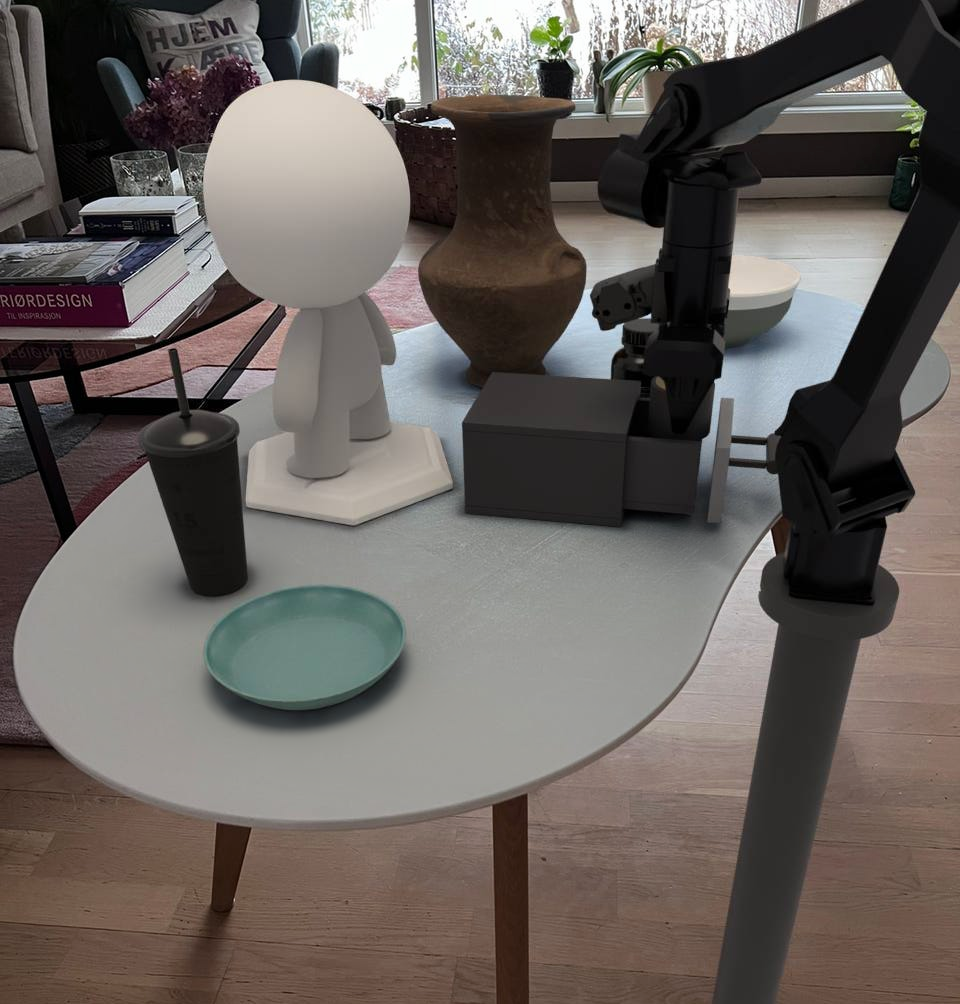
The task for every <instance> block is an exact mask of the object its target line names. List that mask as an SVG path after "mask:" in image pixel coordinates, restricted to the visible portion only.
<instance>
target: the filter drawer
mask: <svg viewBox="0 0 960 1004" xmlns="http://www.w3.org/2000/svg"><path fill="white" fill-rule="evenodd" d="M734 403H735V398H732V397H720V404H719V413H718V421H717V428H716V436H715V446H714V454H713V462H712V470H711V471H712V472H711V482H710V492H709V501H708V510H707V511H708V512H707V523H710V524H722V520H723V519H722V518H723V511H724V503H725V494H726V488H727V481H728V480H727V479H728V473H729V467H733V468H734V467H735V468H747V469H748V468H749V469H760V470H761V469H762V470H765V469H766V472H767V473H768V474H770V475H773V476H774V475H775V476H776V475H778V471H777V463H776V461H775V450H776V446H777V443H778V441H779V439H780V437H781V436H776V435H775V434H774V432H773V433H770V434H769V435H767V436H765V437H763V436H749V435H735V434H732V433H733V419H734V405H735V404H734ZM649 404H650V398H644V397H638V400H637V404H636V408H635V411H634V415H633V419H632V423H631V426H630V430H629V434H628V437H627V449H626V465H625V480H624V496H623V509H625V510H634V511H645V512H656V513H657V512H659V513H670V514H681V515H694V512H695V504H696V495H697V488H698V480H699V473H700V472H699V471H700V463H701V455H702V446H703V445H702V444H703V439H701V440H698V441H688V440H674V439H660V438H656V437H654V436H652V435H651V434H650V433H649V431H648V417H649ZM732 444H736V445H750V446H764V447H765V459H754V458H753V459H752V458H742V457H741V458H740V457H739V458H738V457H731V449H732V448H731V447H732Z"/></svg>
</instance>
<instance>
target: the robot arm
mask: <svg viewBox="0 0 960 1004" xmlns="http://www.w3.org/2000/svg"><path fill="white" fill-rule="evenodd" d="M887 65H891V67H892V69H893V72H894V75H895V77H896V80H897V81H898V84H899V87H900V89H901V91H902V92H903V93H904V94H905V95H906V96H907V97H908V98H909V99H911V100H912V101H913V102H915V103H916V104H917V105H918V106H919V107H921V108H922V110H924V111H925V115H924V118H923V121H922V125H921V128H920V132H919V134H918V154H919V156H918V157H919V169H920V186H919V189H918V191H917V194H916V196H915V198H914V200H913V202H912V205H911V207H910V208H909V211H908V213H907V216H906V218H905V220H904V222H903V223H902V226H901V229H900V230H899V233H898V235H897V238H896V239H895V242H894V244H893V246H892V248H891V251H890V252H889V255H888V257H887V259H886V261H885V263H884V265H883V268H882V270H881V272H880V275H879V276H878V279H877V281H876V283H875V284H874V287H873V289H872V291H871V294H870V296H869V299H868V300H867V303H866V304H865V307H864V308H863V312H862V314H861V316H860V318H859V320H858V322H857V325H856V326H855V329H854V330H853V333H852V335H851V338H850V340H849V342H848V344H847V346H846V348H845V350H844V352H843V355H842V356H841V359H840V361H839V364H838V365H837V368H836V370H835V372H834V374H833V375H832V377H831V378H830V380H826V381H822V382H818V383H815V384H812V385H811V384H810V385H808V386H805V387H801V388H798V389H796V390H795V391H794V393H793V394H792V396H791V397H790V399H789V402H788V406H787V409H786V414H785V416H784V419H783V421H782V423H781V424H780V425H779V426H778V428H776V429H775V430H774V432H773V433H774V434H775V435H776V436H781V437H780V439H779V441H778V443H777V446H776V450H775V461H776V463H777V471H778V474H777V479H778V488H779V496H780V497H779V498H780V505H781V513H782V517H783V518H784V519H786V520H788V521H790V522H789V525H788V532H787V537H786V543H785V547H784V548H785V549H784V552H785V554H784V560H783V577H784V578H785V579H786V580H788V589H789V596H790V597H792V598H795V599H806V600H816V601H826V602H836V603H846V604H856V605H866V606H872V605H874V603H875V599H876V598H875V592H874V581H875V577H876V572H877V568H878V564H879V563H880V559H881V554H882V551H883V546H884V542H885V538H886V533H887V530H888V524H887V518H886V517H889V516H892V515H894V514H900V513H903V512H905V510H906V509H907V508H908V507H909V505H910V503H911V502H912V500H913V499H914V497H915V495H916V489H915V487H914V486H913V483H912V481H911V479H910V477H909V475H908V472H907V471H906V468H905V466H904V464H903V462H902V460H901V458H900V456H899V454H898V452H897V450H896V449H897V447H898V442H899V441H900V437H901V435H902V431H903V426H904V423H903V413H902V405H901V398H902V394H903V392H904V389H905V388H906V386H907V384H908V382H909V380H910V379H911V376H912V374H913V373H914V371H915V369H916V367H917V365H918V363H919V362H920V359H921V358H922V356H923V353H924V352H925V350H926V349H927V346H928V344H929V342H930V340H931V338H932V337H933V334H934V333H935V331H936V329H937V327H938V325H939V324H940V322H941V319H942V317H943V316H944V314H945V312H946V310H947V308H948V306H949V304H950V302H951V301H952V298H953V297H954V295H955V293H956V292H957V289H958V287H959V285H960V0H857V1H854V2H852V3H850V4H848V5H846V6H845V7H842V8H841V9H838V10H837V11H835V12H832V13H830V14H828V15H826V16H823V17H822V18H820V19H818V20H816V21H814V22H812V23H810V24H808V25H805V26H804V27H802V28H800V29H798V30H796V31H794V32H792V33H790V34H788V35H786V36H784V37H782V38H780V39H778V40H776V41H774V42H772V43H769V44H768V45H766V46H764V47H761V48H760V49H758V50H756V51H754V52H751V53H750V54H745V55H740V56H735V57H730V58H723V59H717V60H711V61H705V62H701V63H697V64H691V65H687V66H682V67H679V68H676V69H674V70H672V71H671V72H670V74H668V75H667V77H666V78H665V79H664V81H663V84H662V86H663V90H662V93H660V96H659V98H658V99H657V102H656V103H655V105H654V107H653V109H652V111H651V112H650V115H649V116H648V118H647V120H646V122H645V124H644V126H643V127H642V130H641V131H633V132H625V133H620V134H619V135H618V148H617V149H616V150H615V151H614V152H613V153H611V154H610V155H609V157H608V158H607V160H606V161H605V163H604V165H603V167H602V169H601V172H600V176H599V177H598V178H597V186H596V187H597V197H598V200H599V203H600V205H601V206H602V208H603V209H604V210H605V211H606V212H607V214H610V215H612V216H614V217H618V218H621V219H624V220H627V221H630V222H634V223H637V224H639V225H644V226H646V227H649V228H655V229H662V228H663V229H662V230H663V233H662V241H661V243H662V244H661V247H660V248H659V250H658V258H655V259H656V260H655V263H654V264H649V265H647V266H642V267H638V268H635V269H632V270H628V271H625V272H623V273H620V274H616V275H614V276H611V277H608V278H605V279H602V280H600V281H598V282H596V283H595V284H594V285H593V288H592V290H591V292H590V294H589V299H590V301H591V305H592V310H591V315H592V318H593V319H595V320H597V324H598V326H599V327H598V328H599V330H600V331H602V332H607V331H611V330H615V328H616V327H617V326H620V325H624V323H626V322H629V321H632V320H636V319H642V318H645V317H647V316H649V315H650V319H651V323H658V326H657V330H656V331H655V332H654V333H652V334H651V335H650V336H649V337H648V340H647V343H646V347H645V350H644V362H643V374H645V375H648V376H655V377H660V378H661V379H662V380H663V381H664V383H665V388H666V394H667V400H668V407H669V414H670V420H671V427H672V432H673V433H680V434H683V433H685V432H686V430H687V428H688V426H689V425H690V423H691V421H692V419H693V417H694V416H695V414H696V412H697V410H698V408H699V407H700V405H701V403H702V402H703V400H704V398H705V396H706V394H707V393H708V391H709V389H710V388H711V386H712V384H713V383H714V382H715V381H716V380H719V379H721V378H722V376H723V375H722V374H723V367H724V366H723V365H724V357H725V348H726V347H725V340H724V339H723V336H724V334H725V326H726V324H725V323H724V321H725V318H727V316H728V308H729V299H730V289H729V288H728V286H729V277H730V269H731V260H732V254H733V251H734V250H733V249H734V243H735V242H734V240H735V233H736V223H737V216H738V208H739V207H738V206H739V197H740V189H744V188H751V187H756V186H757V187H758V186H759V185H760V184H761V183H762V179H763V178H762V176H761V174H760V172H759V171H758V169H757V168H756V167H755V166H754V165H753V164H752V163H751V162H750V160H749V159H748V157H747V153H746V152H745V151H744V150H741V151H740V150H739V151H734V152H726V153H723V154H722V155H721V156H720V157H716V156H715V157H714V156H710V155H705V154H711V153H716V152H717V153H718V152H721V151H723V150H724V149H726V148H727V147H729V146H735V145H742V144H745V143H747V142H749V141H751V140H752V139H753V138H755V137H757V136H758V135H759V134H761V133H762V132H764V131H765V130H766V129H768V128H769V127H771V126H772V125H774V124H775V122H776V121H777V119H778V117H779V116H780V115H781V113H782V112H784V111H785V110H786V109H788V108H789V107H791V106H792V105H794V104H796V103H799V102H801V101H803V100H807V99H809V98H811V97H813V96H815V95H816V96H817V95H819V94H820V93H823V92H825V91H827V90H830V89H832V88H835V87H837V86H840V85H841V84H842V85H843V84H845V83H847V82H850V81H851V80H854V79H857V78H859V77H861V76H864V75H867V74H868V73H871V72H873V71H876V70H878V69H881V68H883V67H886V66H887ZM703 154H704V155H703ZM696 155H700V156H696ZM693 156H696V157H694V158H693ZM879 565H880V564H879Z"/></svg>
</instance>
